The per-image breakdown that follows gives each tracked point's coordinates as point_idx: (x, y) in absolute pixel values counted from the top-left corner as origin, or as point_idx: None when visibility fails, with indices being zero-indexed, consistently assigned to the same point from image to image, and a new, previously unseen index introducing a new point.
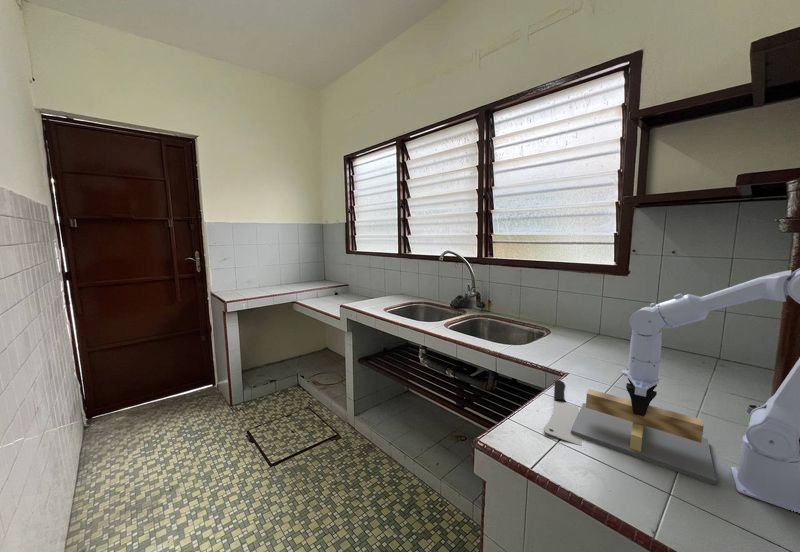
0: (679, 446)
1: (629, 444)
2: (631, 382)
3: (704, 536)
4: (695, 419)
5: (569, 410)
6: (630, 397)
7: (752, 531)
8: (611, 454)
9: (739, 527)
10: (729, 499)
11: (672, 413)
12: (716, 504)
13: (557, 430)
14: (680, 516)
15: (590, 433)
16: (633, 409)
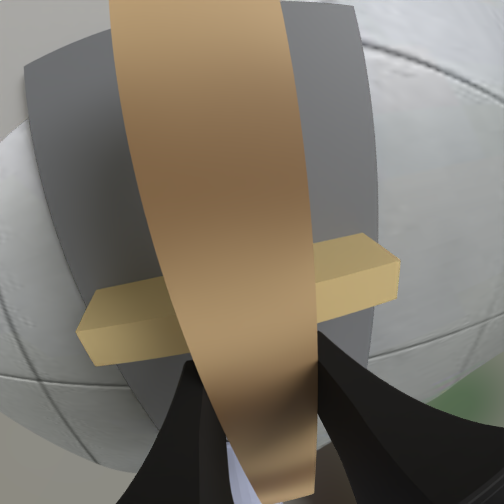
0: None
1: (120, 281)
2: (414, 496)
3: (11, 413)
4: (299, 492)
5: None
6: (133, 479)
7: (91, 452)
8: (33, 240)
9: (80, 444)
10: (141, 441)
11: (292, 471)
12: (101, 430)
13: (6, 36)
14: (9, 392)
15: (58, 131)
16: (179, 387)
